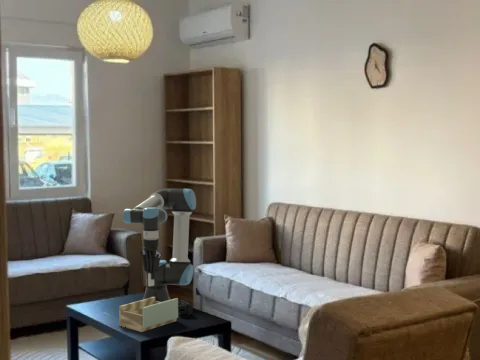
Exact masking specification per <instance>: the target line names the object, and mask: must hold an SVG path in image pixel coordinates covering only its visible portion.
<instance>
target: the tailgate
mask: <svg viewBox="0 0 480 360" xmlns="http://www.w3.org/2000/svg"><path fill="white" fill-rule="evenodd" d="M178 302H179V298H178V297H176V298H173V299H171V298H170V300H168V301H164V302H160V303H157V304H153V305H150V306H146V307H143V308H142V313H143V328H147V327H150V326H153V325H156V324H160V323H163V322H166V321H169V320H172V319H175V318H176V319H178V318H179V316H178Z"/></svg>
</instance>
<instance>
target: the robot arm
mask: <svg viewBox="0 0 480 360" xmlns="http://www.w3.org/2000/svg"><path fill="white" fill-rule="evenodd" d="M196 197H197V196H196V194H195V192H194V190H193V189H191V188H162V189H160V190H157V191H155V192H153V193H151V194H150V195H149V196H148V198H147V199H145V200H144V201H142V202H141V203H140V204H138V205H136V206H134V208H125V209H124V210H123V212H122V221H123V222H124V223H125V224H130V225H131V224H134V225H137V224H138V225H139V224H140V225H142V226H143V228H142V231H143V233H142V235H143V241H142V246H143V247H144V248H143V251H140V256H141V259H142V265H143V270H144V271H145V292H144V295H143V297H142V300H144V299H148V298H151V297H155V301H158V302H164V301H168V300H171V297H170V295H169V290H168V288H167V287H168V286H167V285H174V286H175V285H176V286H177V285H178V286H187V285H189V284H190V283H191V281H192V280H193V277H194V265H193V264H192V263H191V260H190V259H189V257H188V255H189V239H190V238H189V235H190V233H189V231H190V216H191V215H192V213H193V210H195V209H196V207H197V198H196ZM164 209H166V210H167V209H168V210H171V213H172V214H173V236H172V237H173V239H172V240H173V241H172V257H171V258H170V259H169V263H168V262H167V260H165V259H161V257H162V253H160V252H159V249H158V247H159V233H160V232H159V225H161V224H164V223H165V222H167V219H168V213H167V211H166V210H164Z"/></svg>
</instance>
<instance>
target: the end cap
mask: <svg viewBox="0 0 480 360" xmlns="http://www.w3.org/2000/svg"><path fill="white" fill-rule="evenodd" d="M193 311H194V308H193V306H192V305H191V304H190V303H188V302H187V301H184V300H183V299H180V300H179V301H178V318H186V317H187V318H188V317H189V316H191V314H192V313H193Z"/></svg>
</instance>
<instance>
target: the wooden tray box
mask: <svg viewBox="0 0 480 360" xmlns="http://www.w3.org/2000/svg"><path fill="white" fill-rule="evenodd" d="M157 303H160V302H158V301H155V297H151V298H148V299H144V300H143V299H141V300H137V301H132V302H130V303H126V304H122V305H119V306H118V316H119V317H118V325H119V327H121V326H122V328H125V327H126V328H125V329H129V330H133V331H137V332H140V333H143V332H146V331H150V330H153V329H155V328H158V327H162V326H164V325H169V324H171V323H174V322H177V321H178V320H177V318H175V319H172V320H169V321H166V322H163V323H160V324H156V325H153V326H150V327H147V328H143V313H142V308H143V307H146V306H150V305H153V304H157Z"/></svg>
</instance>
